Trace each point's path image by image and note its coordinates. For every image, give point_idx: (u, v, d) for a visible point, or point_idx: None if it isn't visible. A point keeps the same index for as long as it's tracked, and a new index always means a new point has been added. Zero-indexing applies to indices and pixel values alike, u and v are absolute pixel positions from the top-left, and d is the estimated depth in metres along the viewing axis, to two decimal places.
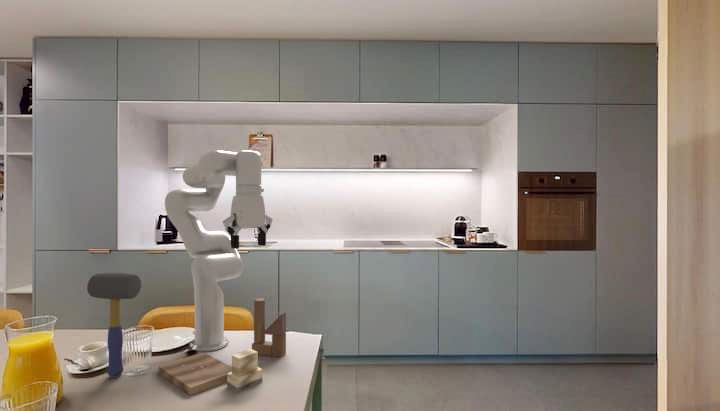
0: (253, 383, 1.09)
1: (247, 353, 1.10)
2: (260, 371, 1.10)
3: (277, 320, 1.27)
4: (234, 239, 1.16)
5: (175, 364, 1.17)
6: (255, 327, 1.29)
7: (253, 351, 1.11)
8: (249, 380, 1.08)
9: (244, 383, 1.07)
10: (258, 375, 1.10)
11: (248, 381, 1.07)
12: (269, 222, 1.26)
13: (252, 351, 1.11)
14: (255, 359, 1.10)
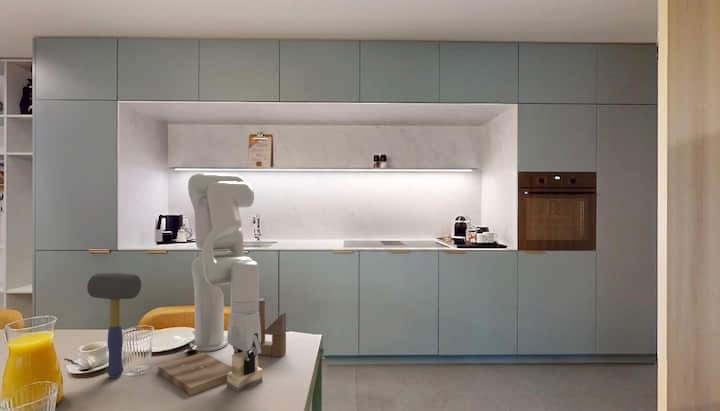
0: (253, 383, 1.09)
1: None
2: (260, 371, 1.10)
3: (277, 320, 1.27)
4: None
5: (175, 364, 1.17)
6: None
7: None
8: (249, 380, 1.08)
9: (244, 383, 1.06)
10: (258, 375, 1.10)
11: (248, 381, 1.07)
12: None
13: None
14: (255, 359, 1.10)
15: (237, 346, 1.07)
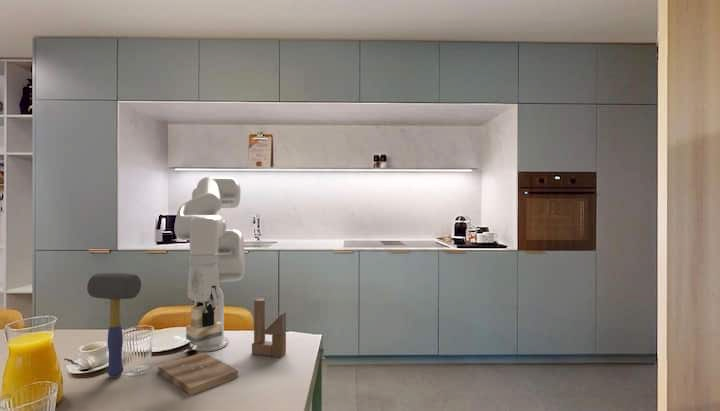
0: (212, 336, 1.11)
1: None
2: (219, 325, 1.12)
3: (277, 320, 1.27)
4: None
5: (175, 364, 1.17)
6: (255, 327, 1.29)
7: None
8: (208, 332, 1.10)
9: (202, 335, 1.08)
10: (218, 329, 1.12)
11: (207, 333, 1.09)
12: None
13: None
14: (214, 313, 1.12)
15: (196, 299, 1.09)
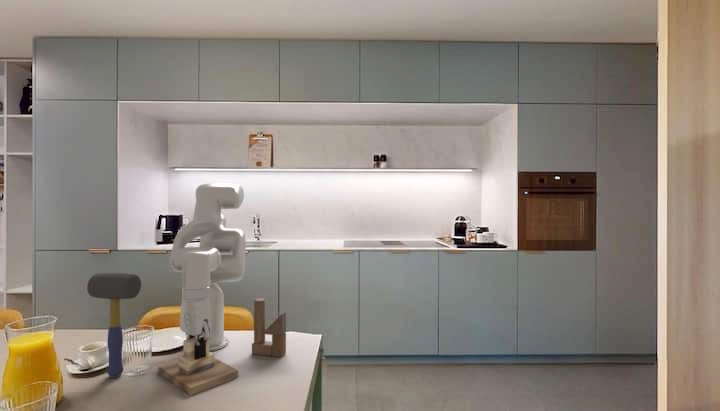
0: (204, 367, 1.14)
1: None
2: (211, 356, 1.15)
3: (277, 320, 1.27)
4: None
5: (175, 364, 1.17)
6: (255, 327, 1.29)
7: None
8: (200, 364, 1.13)
9: (195, 367, 1.11)
10: (210, 360, 1.15)
11: (199, 365, 1.12)
12: None
13: None
14: (206, 345, 1.15)
15: (188, 332, 1.12)
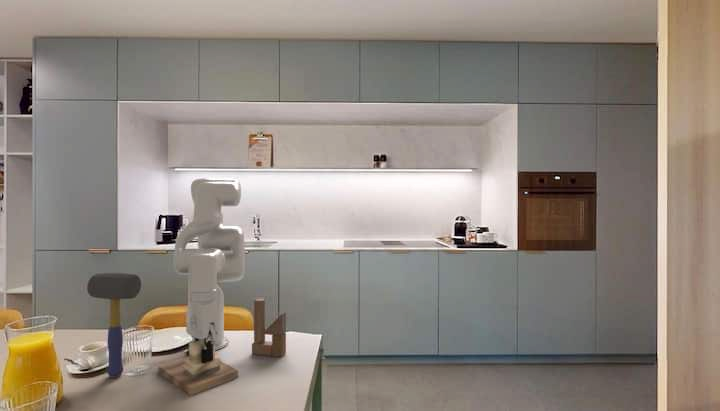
0: (210, 370, 1.12)
1: None
2: (217, 359, 1.13)
3: (277, 320, 1.27)
4: None
5: (175, 364, 1.17)
6: (255, 327, 1.29)
7: None
8: (206, 367, 1.11)
9: (200, 370, 1.09)
10: (216, 363, 1.13)
11: (204, 368, 1.10)
12: None
13: None
14: None
15: (194, 335, 1.09)
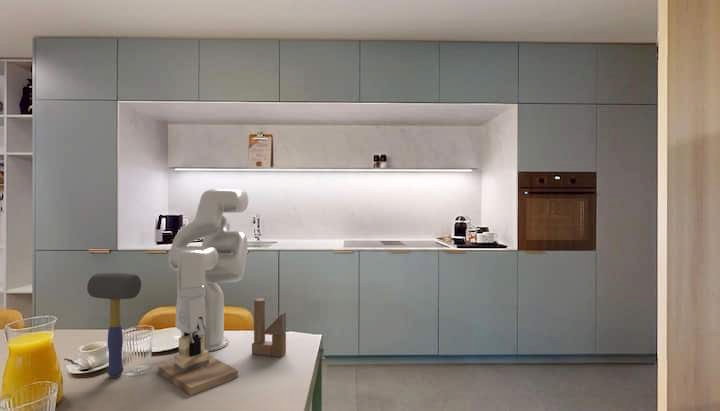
0: (199, 364, 1.16)
1: None
2: (206, 353, 1.17)
3: (277, 320, 1.27)
4: None
5: None
6: (255, 327, 1.29)
7: None
8: (195, 361, 1.15)
9: (190, 364, 1.13)
10: (205, 357, 1.17)
11: (194, 362, 1.14)
12: None
13: None
14: (201, 342, 1.17)
15: (183, 329, 1.14)
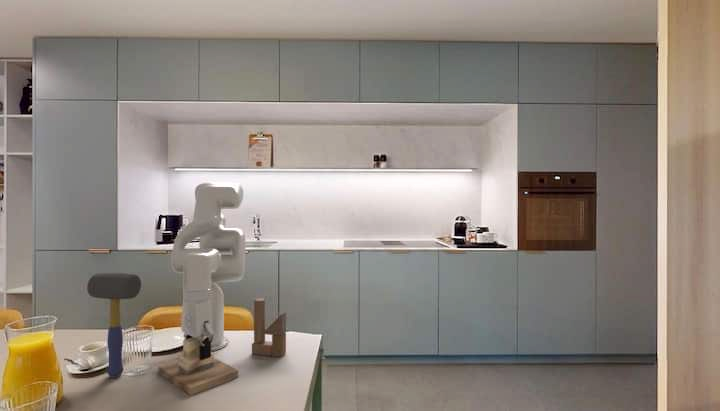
0: (204, 367, 1.14)
1: (198, 338, 1.15)
2: (211, 355, 1.16)
3: (277, 320, 1.27)
4: None
5: (175, 364, 1.17)
6: (255, 327, 1.29)
7: (205, 336, 1.16)
8: (199, 364, 1.13)
9: (194, 366, 1.12)
10: (209, 359, 1.15)
11: (198, 365, 1.13)
12: None
13: None
14: None
15: (189, 333, 1.12)
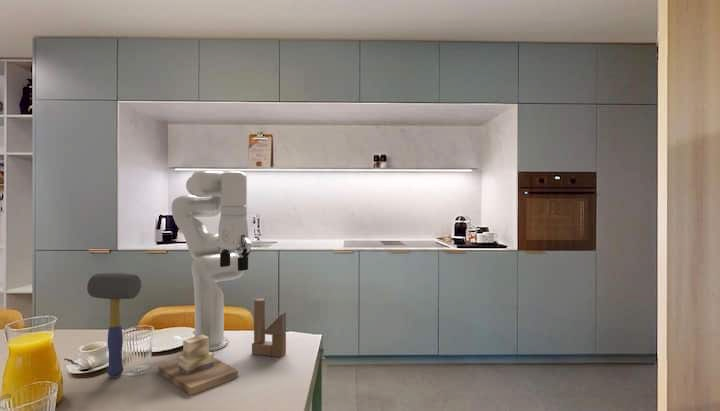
0: (204, 367, 1.14)
1: (198, 338, 1.15)
2: (211, 355, 1.16)
3: (277, 320, 1.27)
4: None
5: (175, 364, 1.17)
6: (255, 327, 1.29)
7: (205, 336, 1.16)
8: (199, 364, 1.13)
9: (194, 366, 1.12)
10: (209, 359, 1.15)
11: (198, 365, 1.13)
12: None
13: (204, 336, 1.16)
14: (206, 344, 1.15)
15: (226, 247, 1.17)
